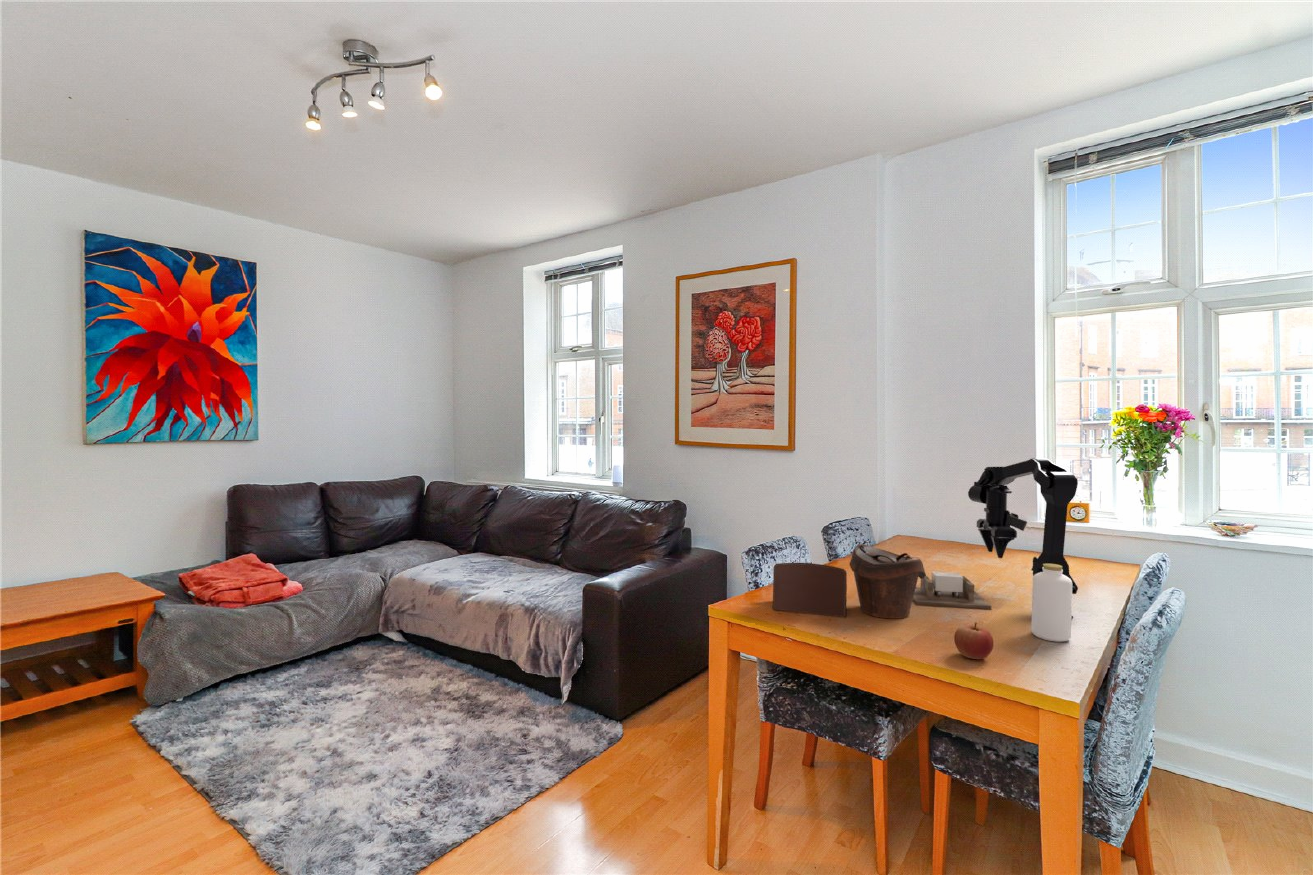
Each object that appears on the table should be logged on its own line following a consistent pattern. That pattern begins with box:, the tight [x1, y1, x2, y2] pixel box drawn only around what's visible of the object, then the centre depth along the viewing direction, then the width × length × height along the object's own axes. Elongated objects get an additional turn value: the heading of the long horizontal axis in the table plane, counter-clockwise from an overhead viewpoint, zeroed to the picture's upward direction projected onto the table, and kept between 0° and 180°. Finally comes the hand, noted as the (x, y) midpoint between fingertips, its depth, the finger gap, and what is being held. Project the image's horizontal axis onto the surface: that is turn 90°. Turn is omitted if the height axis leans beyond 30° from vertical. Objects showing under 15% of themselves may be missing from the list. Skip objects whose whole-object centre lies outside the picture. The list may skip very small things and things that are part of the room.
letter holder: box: [772, 562, 848, 618], centre depth 174 cm, size 10×20×14 cm, turn 72°
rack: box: [912, 575, 992, 610], centre depth 184 cm, size 16×20×6 cm
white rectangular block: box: [931, 571, 963, 592], centre depth 184 cm, size 8×5×4 cm, turn 79°
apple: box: [953, 622, 994, 660], centre depth 139 cm, size 8×8×8 cm
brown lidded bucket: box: [849, 543, 927, 620], centre depth 171 cm, size 18×20×18 cm
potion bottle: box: [1031, 564, 1073, 643], centre depth 152 cm, size 8×8×18 cm
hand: (995, 554), depth 195 cm, fingers open, 9 cm apart
